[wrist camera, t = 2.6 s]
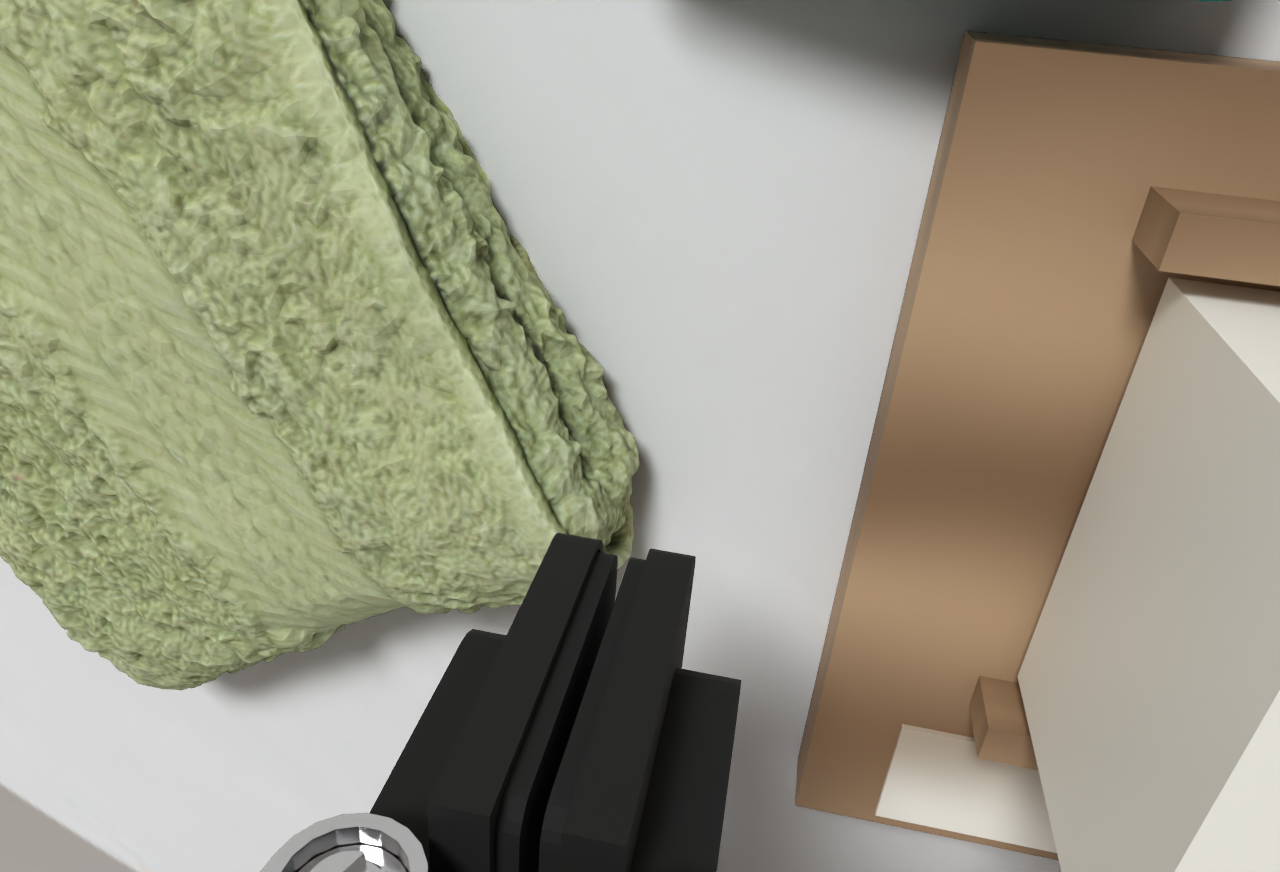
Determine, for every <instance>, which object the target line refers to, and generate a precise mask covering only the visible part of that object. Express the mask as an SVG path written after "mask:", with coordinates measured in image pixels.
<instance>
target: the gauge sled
mask: <svg viewBox="0 0 1280 872" xmlns="http://www.w3.org/2000/svg"><path fill="white" fill-rule="evenodd" d="M1017 677H1018V681H1019V686H1020V690H1021V695H1022V699H1023V703H1024V708H1025V712H1026V717H1027V721H1028V726H1029V730H1030V735H1031V739H1032V744H1033V748H1034V752H1035V757H1036V761H1037V766H1038V770H1039V775H1040V779H1041V784H1042V788H1043V793H1044V797H1045V801H1046V806H1047V810H1048V815H1049V819H1050V824H1051V828H1052V833H1053V837H1054V841H1055V846H1056V850H1057V855H1058V859H1059V864H1060V868H1061V872H1280V292H1278V291H1270V290H1262V289H1254V288H1246V287H1239V286H1231V285H1223V284H1215V283H1207V282H1200V281H1192V280H1184V279H1176V278H1168V280H1167V283H1166V286H1165V288H1164V291H1163V294H1162V296H1161V299H1160V301H1159V304H1158V307H1157V309H1156V312H1155V315H1154V317H1153V320H1152V323H1151V325H1150V328H1149V331H1148V333H1147V336H1146V338H1145V341H1144V344H1143V346H1142V349H1141V352H1140V354H1139V357H1138V360H1137V362H1136V365H1135V367H1134V370H1133V373H1132V375H1131V378H1130V381H1129V383H1128V386H1127V389H1126V391H1125V394H1124V397H1123V399H1122V402H1121V404H1120V407H1119V410H1118V412H1117V415H1116V418H1115V420H1114V423H1113V426H1112V428H1111V431H1110V433H1109V436H1108V439H1107V441H1106V444H1105V447H1104V449H1103V452H1102V455H1101V457H1100V460H1099V463H1098V465H1097V468H1096V470H1095V473H1094V476H1093V478H1092V481H1091V484H1090V486H1089V489H1088V492H1087V494H1086V497H1085V499H1084V502H1083V505H1082V507H1081V510H1080V513H1079V515H1078V518H1077V521H1076V523H1075V526H1074V529H1073V531H1072V534H1071V536H1070V539H1069V542H1068V544H1067V547H1066V550H1065V552H1064V555H1063V558H1062V560H1061V563H1060V565H1059V568H1058V571H1057V573H1056V576H1055V579H1054V581H1053V584H1052V587H1051V589H1050V592H1049V595H1048V597H1047V600H1046V602H1045V605H1044V608H1043V610H1042V613H1041V616H1040V618H1039V621H1038V624H1037V626H1036V629H1035V631H1034V634H1033V637H1032V639H1031V642H1030V645H1029V647H1028V650H1027V653H1026V655H1025V658H1024V661H1023V663H1022V666H1021V668H1020V671H1019V674H1018V676H1017Z"/></svg>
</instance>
